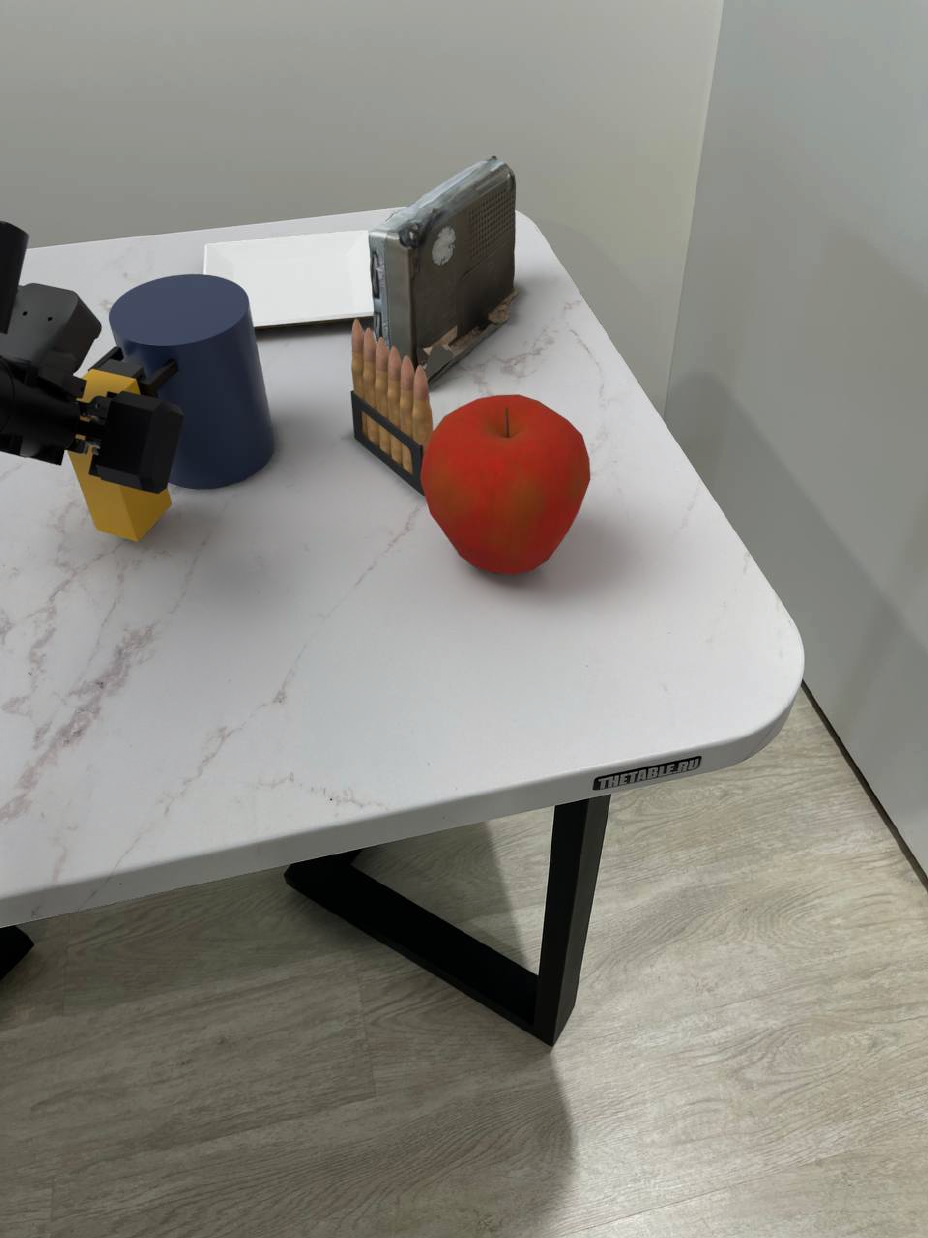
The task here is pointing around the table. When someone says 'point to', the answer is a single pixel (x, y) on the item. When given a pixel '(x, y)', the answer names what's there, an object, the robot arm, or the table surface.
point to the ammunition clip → (390, 405)
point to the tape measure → (105, 500)
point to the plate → (298, 276)
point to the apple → (505, 481)
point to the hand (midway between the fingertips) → (123, 441)
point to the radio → (446, 267)
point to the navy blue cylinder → (199, 372)
